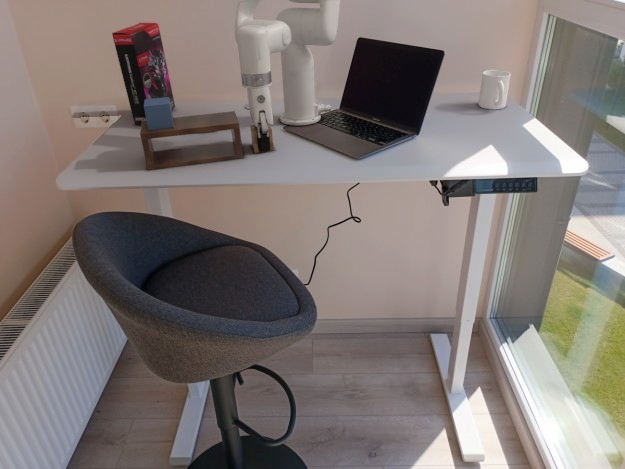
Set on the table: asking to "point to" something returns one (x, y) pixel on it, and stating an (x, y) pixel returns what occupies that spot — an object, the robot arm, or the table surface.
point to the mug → (494, 89)
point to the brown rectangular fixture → (198, 152)
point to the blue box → (158, 113)
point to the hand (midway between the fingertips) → (262, 146)
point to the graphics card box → (142, 66)
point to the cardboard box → (255, 134)
